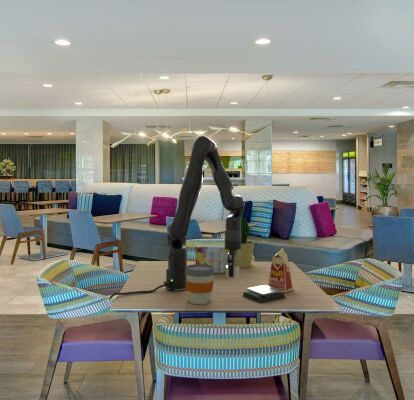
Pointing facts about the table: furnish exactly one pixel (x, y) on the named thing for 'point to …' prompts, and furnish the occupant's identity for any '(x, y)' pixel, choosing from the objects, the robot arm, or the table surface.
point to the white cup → (236, 272)
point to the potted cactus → (245, 247)
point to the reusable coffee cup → (199, 283)
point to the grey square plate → (264, 290)
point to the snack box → (212, 257)
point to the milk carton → (280, 272)
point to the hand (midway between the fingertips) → (232, 274)
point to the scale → (263, 298)
